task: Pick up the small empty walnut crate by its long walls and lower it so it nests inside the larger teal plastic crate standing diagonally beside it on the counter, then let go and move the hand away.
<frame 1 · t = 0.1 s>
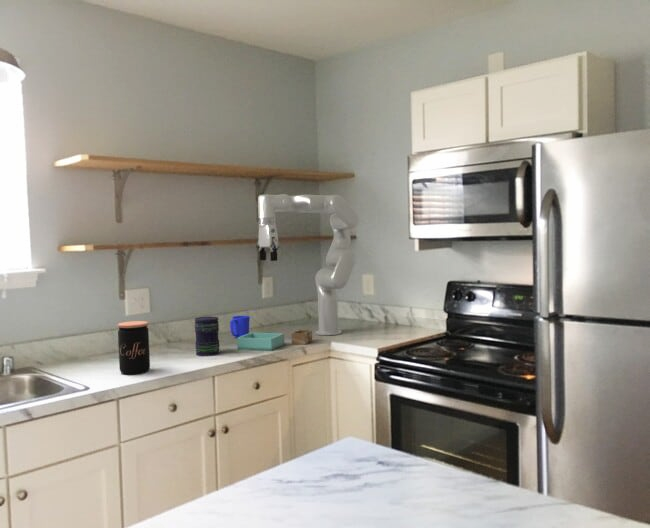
hand: (268, 260, 273), 37 cm above the counter, tool pointing down, fingers open, 9 cm apart
mug: (239, 338, 288), on the counter
coffee jar: (135, 372, 223), on the counter
storage jar: (207, 354, 253), on the counter
teal crate: (261, 347, 265), on the counter
walnut crate: (302, 342, 272), on the counter
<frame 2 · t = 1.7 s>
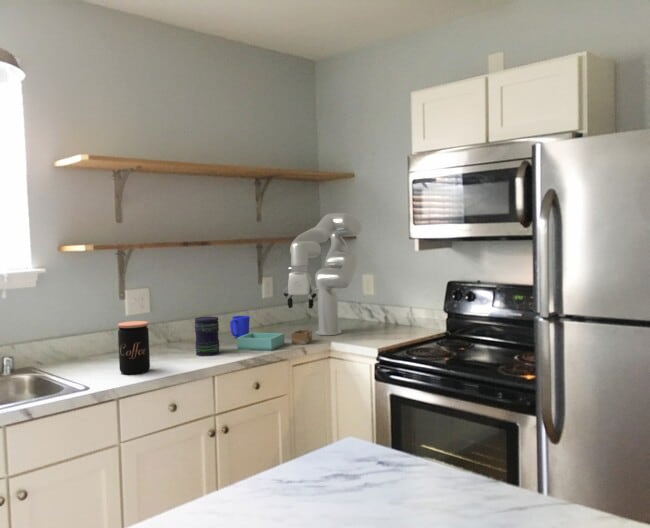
hand: (300, 307, 271), 16 cm above the counter, tool pointing down, fingers open, 9 cm apart
nothing on the counter moved.
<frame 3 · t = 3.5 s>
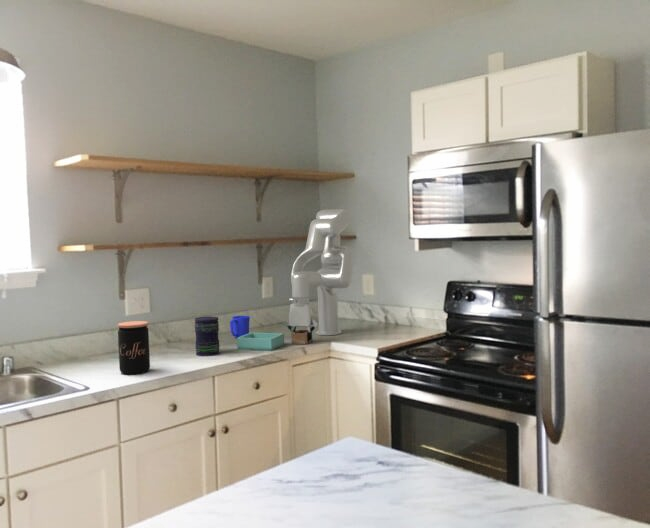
hand: (302, 340, 272), 1 cm above the counter, tool pointing down, fingers closed on walnut crate, 6 cm apart
walnut crate: (302, 342, 272), on the counter, touching gripper
everything else where it was.
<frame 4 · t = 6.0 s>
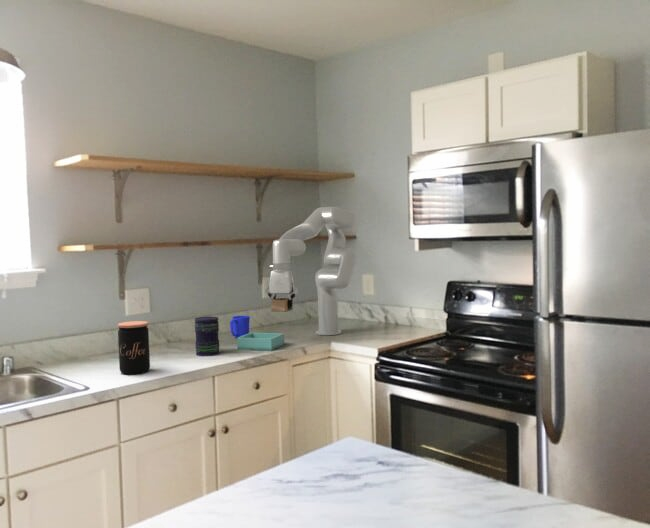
hand: (282, 308, 267), 16 cm above the counter, tool pointing down, fingers closed on walnut crate, 6 cm apart
walnut crate: (282, 310, 267), point 15 cm above the counter, touching gripper
everything else where it was.
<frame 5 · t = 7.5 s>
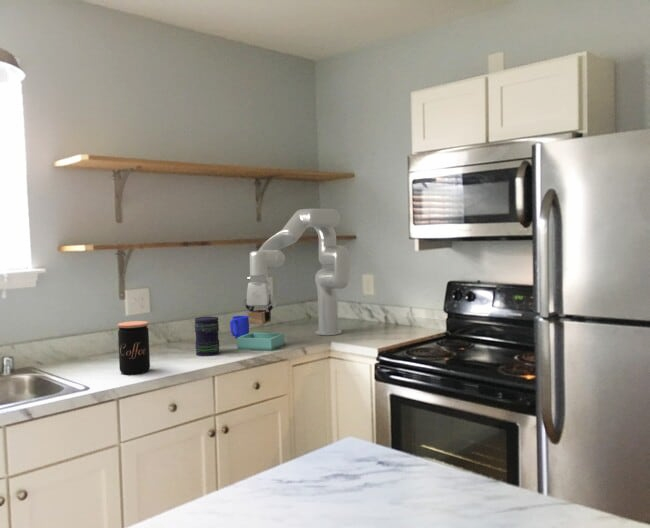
hand: (260, 320, 264), 12 cm above the counter, tool pointing down, fingers closed on walnut crate, 6 cm apart
walnut crate: (260, 322, 264), point 11 cm above the counter, touching gripper
everything else where it was.
when the fingers open (7 cm above the counter, at t = 8.8 s): walnut crate drops 5 cm, resting on teal crate.
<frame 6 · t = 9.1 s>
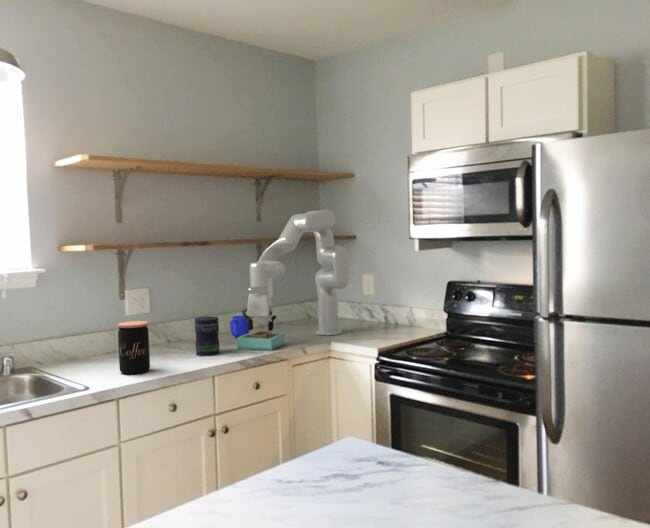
hand: (260, 330, 264), 7 cm above the counter, tool pointing down, fingers open, 9 cm apart
walnut crate: (261, 344, 264), point 1 cm above the counter, touching teal crate
everything else where it was.
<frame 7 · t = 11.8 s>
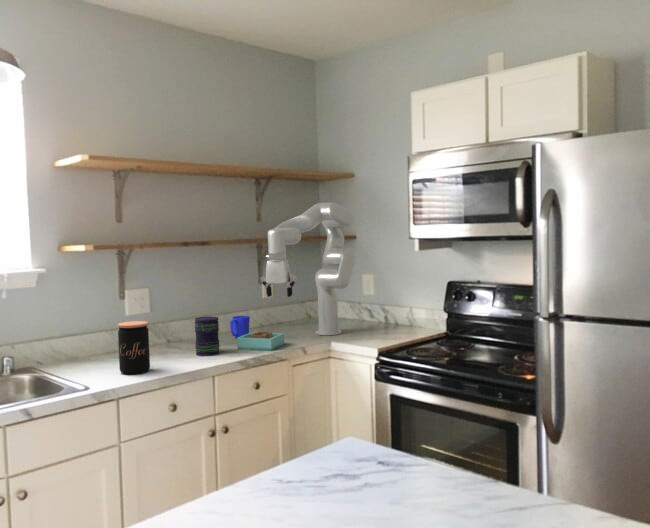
hand: (279, 296, 266), 22 cm above the counter, tool pointing down, fingers open, 9 cm apart
nothing on the counter moved.
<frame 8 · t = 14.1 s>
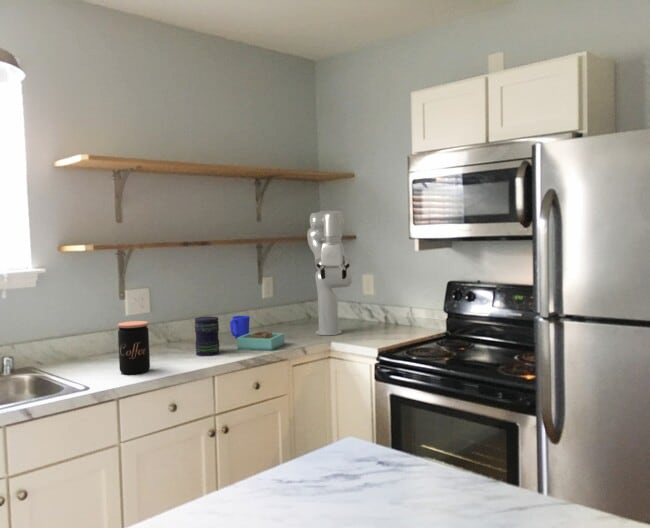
hand: (333, 278, 271), 28 cm above the counter, tool pointing down, fingers open, 9 cm apart
nothing on the counter moved.
at the end: walnut crate 0.1 cm off-centre on the teal crate, point 1.0 cm above the teal crate's base; walnut crate tilted 0°; the gripper is holding nothing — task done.
